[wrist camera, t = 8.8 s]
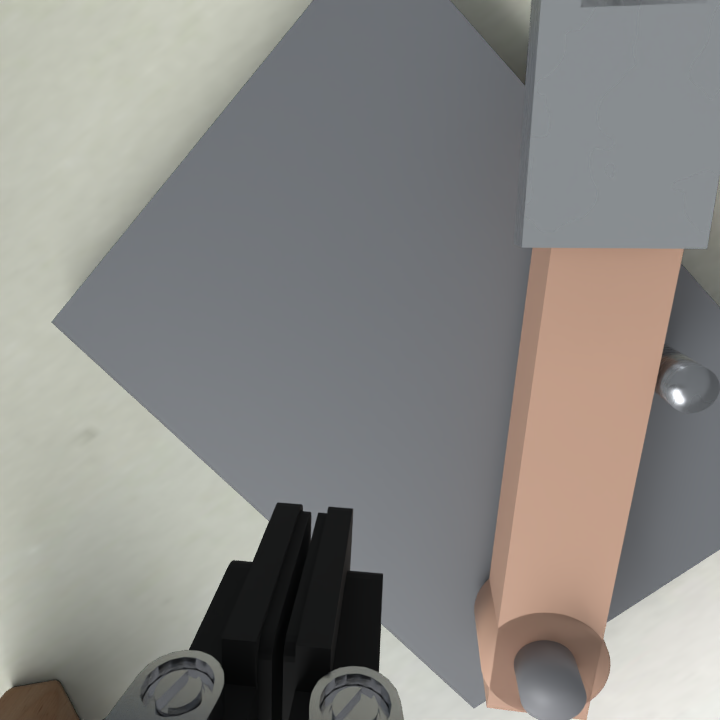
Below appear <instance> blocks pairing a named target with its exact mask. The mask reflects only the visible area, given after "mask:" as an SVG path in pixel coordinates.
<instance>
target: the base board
mask: <svg viewBox="0 0 720 720" xmlns="http://www.w3.org/2000/svg"><path fill="white" fill-rule="evenodd" d="M524 95H525V85H524V84H523V83H522V82H521V80H520V79H519V78H518V77H517V76H516V75H515V74H514V73H513V71H512V70H511V69H510V68H509V67H508V66H507V65H506V63H505V62H504V61H503V60H502V59H501V58H500V57H499V55H498V54H497V53H496V52H495V51H494V50H493V49H492V47H491V46H490V45H489V44H488V43H487V42H486V41H485V39H484V38H483V37H482V36H481V35H480V34H479V33H478V32H477V30H476V29H475V28H474V27H473V26H472V25H471V24H470V22H469V21H468V20H467V19H466V18H465V17H464V16H463V14H462V13H461V12H460V11H459V10H458V9H457V8H456V6H455V5H454V4H453V3H452V2H451V1H450V0H313V1H312V2H311V4H310V5H309V6H308V7H307V9H306V10H305V11H304V12H303V14H302V15H301V16H300V17H299V18H298V20H297V21H296V22H295V23H294V25H293V26H292V27H291V28H290V30H289V31H288V32H287V33H286V34H285V36H284V37H283V38H282V39H281V41H280V42H279V43H278V44H277V45H276V47H275V48H274V49H273V50H272V52H271V53H270V54H269V55H268V57H267V58H266V59H265V60H264V61H263V63H262V64H261V65H260V66H259V68H258V69H257V70H256V71H255V73H254V74H253V75H252V76H251V77H250V79H249V80H248V81H247V82H246V84H245V85H244V86H243V87H242V88H241V90H240V91H239V92H238V93H237V95H236V96H235V97H234V98H233V100H232V101H231V102H230V103H229V104H228V106H227V107H226V108H225V109H224V111H223V112H222V113H221V114H220V116H219V117H218V118H217V119H216V120H215V122H214V123H213V124H212V125H211V127H210V128H209V129H208V130H207V131H206V133H205V134H204V135H203V136H202V138H201V139H200V140H199V141H198V143H197V144H196V145H195V146H194V147H193V149H192V150H191V151H190V152H189V154H188V155H187V156H186V157H185V159H184V160H183V161H182V162H181V163H180V165H179V166H178V167H177V168H176V170H175V171H174V172H173V173H172V175H171V176H170V177H169V178H168V179H167V181H166V182H165V183H164V184H163V186H162V187H161V188H160V189H159V190H158V192H157V193H156V194H155V195H154V197H153V198H152V199H151V200H150V202H149V203H148V204H147V205H146V206H145V208H144V209H143V210H142V211H141V213H140V214H139V215H138V216H137V218H136V219H135V220H134V221H133V222H132V224H131V225H130V226H129V227H128V229H127V230H126V231H125V232H124V233H123V235H122V236H121V237H120V238H119V240H118V241H117V242H116V243H115V245H114V246H113V247H112V248H111V249H110V251H109V252H108V253H107V254H106V256H105V257H104V258H103V259H102V261H101V262H100V263H99V264H98V265H97V267H96V268H95V269H94V270H93V272H92V273H91V274H90V275H89V276H88V278H87V279H86V280H85V281H84V283H83V284H82V285H81V286H80V288H79V289H78V290H77V291H76V292H75V294H74V295H73V296H72V297H71V299H70V300H69V301H68V302H67V304H66V305H65V306H64V307H63V308H62V310H61V311H60V312H59V313H58V315H57V316H56V317H55V318H54V319H53V321H52V323H53V324H54V325H55V326H56V327H57V328H58V329H59V330H60V331H61V332H63V333H64V334H65V335H66V336H67V337H68V338H69V339H70V340H71V341H72V342H73V343H75V344H76V345H77V346H78V347H79V348H80V349H81V350H82V351H83V352H84V353H86V354H87V355H88V356H89V357H90V358H91V359H92V360H93V361H94V362H95V363H96V364H98V365H99V366H100V367H101V368H102V369H103V370H104V371H105V372H106V373H107V374H108V375H110V376H111V377H112V378H113V379H114V380H115V381H116V382H117V383H118V384H119V385H121V386H122V387H123V388H124V389H125V390H126V391H127V392H128V393H129V394H130V395H131V396H133V397H134V398H135V399H136V400H137V401H138V402H139V403H140V404H141V405H142V406H144V407H145V408H146V409H147V410H148V411H149V412H150V413H151V414H152V415H153V416H154V417H156V418H157V419H158V420H159V421H160V422H161V423H162V424H163V425H164V426H165V427H166V428H168V429H169V430H170V431H171V432H172V433H173V434H174V435H175V436H176V437H177V438H179V439H180V440H181V441H182V442H183V443H184V444H185V445H186V446H187V447H188V448H189V449H191V450H192V451H193V452H194V453H195V454H196V455H197V456H198V457H199V458H200V459H201V460H203V461H204V462H205V463H206V464H207V465H208V466H209V467H210V468H211V469H212V470H214V471H215V472H216V473H217V474H218V475H219V476H220V477H221V478H222V479H223V480H224V481H226V482H227V483H228V484H229V485H230V486H231V487H232V488H233V489H234V490H235V491H237V492H238V493H239V494H240V495H241V496H242V497H243V498H244V499H245V500H246V501H247V502H249V503H250V504H251V505H252V506H253V507H254V508H255V509H256V510H257V511H258V512H259V513H261V514H262V515H263V516H264V517H265V518H266V519H267V520H268V521H270V518H271V516H272V513H273V511H274V508H275V506H276V504H277V503H278V502H280V503H292V504H302V505H303V511H307V512H311V538H312V534H313V530H314V526H315V523H316V519H317V515H318V513H327V510H328V507H341V508H353V527H352V546H351V565H350V571H360V572H372V573H383V591H382V613H381V624H382V625H383V626H384V627H385V628H386V629H387V630H389V631H390V632H391V633H392V634H393V635H394V636H395V637H396V638H397V639H398V640H400V641H401V642H402V643H403V644H404V645H405V646H406V647H407V648H408V649H409V650H410V651H412V652H413V653H414V654H415V655H416V656H417V657H418V658H419V659H420V660H421V661H423V662H424V663H425V664H426V665H427V666H428V667H429V668H430V669H431V670H432V671H433V672H435V673H436V674H437V675H438V676H439V677H440V678H441V679H442V680H443V681H444V682H445V683H447V684H448V685H449V686H450V687H451V688H452V689H453V690H454V691H455V692H456V693H458V694H459V695H460V696H461V697H462V698H463V699H464V700H465V701H466V702H467V703H468V704H470V705H471V706H472V707H473V708H475V707H477V706H478V705H480V704H482V703H483V702H485V701H486V697H485V689H484V681H483V674H482V671H481V663H480V655H479V647H478V639H477V631H476V623H475V615H474V605H475V600H476V597H477V594H478V592H479V590H480V589H481V587H482V586H483V585H484V583H485V582H486V581H487V580H488V579H489V576H490V568H491V561H492V553H493V545H494V538H495V530H496V523H497V515H498V507H499V500H500V492H501V484H502V477H503V469H504V461H505V454H506V446H507V438H508V431H509V423H510V416H511V408H512V400H513V393H514V385H515V377H516V370H517V362H518V354H519V347H520V339H521V331H522V324H523V316H524V309H525V301H526V293H527V286H528V278H529V270H530V263H531V255H532V248H522V247H520V246H518V245H515V244H514V231H515V217H516V203H517V190H518V176H519V163H520V149H521V136H522V122H523V109H524ZM664 343H665V344H667V345H669V346H670V347H672V348H674V349H675V350H677V351H679V352H680V353H682V354H684V355H685V356H687V357H689V358H691V359H692V360H694V361H696V362H697V363H699V364H701V365H702V366H704V367H706V368H707V369H709V370H711V371H712V372H713V373H714V374H715V375H716V376H717V378H718V380H719V384H720V307H719V306H718V305H717V304H716V303H715V301H714V300H713V299H712V298H711V297H710V296H709V295H708V293H707V292H706V291H705V290H704V289H703V288H702V287H701V286H700V284H699V283H698V282H697V281H696V280H695V279H694V278H693V276H692V275H691V274H690V273H689V272H688V271H687V270H686V268H685V267H684V266H683V265H682V264H681V265H680V270H679V275H678V280H677V285H676V289H675V294H674V299H673V304H672V309H671V314H670V318H669V323H668V328H667V333H666V338H665V342H664ZM718 550H720V390H719V394H718V397H717V399H716V400H715V402H714V403H713V404H712V405H711V406H710V407H708V408H707V409H705V410H703V411H700V412H697V413H684V412H680V411H678V410H676V409H675V408H674V407H672V406H671V405H670V404H669V403H668V402H666V401H665V400H664V399H663V398H662V397H660V396H659V395H658V394H657V393H656V392H654V396H653V400H652V405H651V410H650V415H649V420H648V425H647V429H646V434H645V439H644V444H643V449H642V454H641V458H640V463H639V468H638V473H637V478H636V482H635V487H634V492H633V497H632V502H631V507H630V511H629V516H628V521H627V526H626V531H625V536H624V540H623V545H622V550H621V555H620V560H619V565H618V569H617V574H616V579H615V584H614V589H613V594H612V598H611V603H610V608H609V613H608V618H607V622H608V621H610V620H611V619H613V618H615V617H616V616H618V615H619V614H621V613H622V612H624V611H625V610H627V609H628V608H630V607H632V606H633V605H635V604H636V603H638V602H639V601H641V600H642V599H644V598H645V597H647V596H649V595H650V594H652V593H653V592H655V591H656V590H658V589H659V588H661V587H662V586H664V585H666V584H667V583H669V582H670V581H672V580H673V579H675V578H676V577H678V576H679V575H681V574H683V573H684V572H686V571H687V570H689V569H690V568H692V567H693V566H695V565H696V564H698V563H700V562H701V561H703V560H704V559H706V558H707V557H709V556H710V555H712V554H713V553H715V552H717V551H718ZM607 622H606V623H607Z"/></svg>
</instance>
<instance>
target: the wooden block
mask: <svg viewBox="0 0 720 720" xmlns="http://www.w3.org/2000/svg"><path fill="white" fill-rule="evenodd" d="M0 720H80V719H79V717H78V716H77V714H76V712H75V710H74V708H73V706H72V704H71V702H70V700H69V699H68V697H67V695H66V693H65V691H64V689H63V687H62V685H61V683H60V682H58V681H56V680H53V681H47V682H41V683H35V684H29V685H24V686H18V687H12V688H11V689H9V690H8V691H6V692H5V693H4V695H3V696H2V697H1V698H0Z"/></svg>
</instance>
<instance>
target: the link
mask: <svg viewBox="0 0 720 720" xmlns="http://www.w3.org/2000/svg"><path fill="white" fill-rule="evenodd" d="M683 251H684V249H649V248H532V255H531V263H530V270H529V278H528V286H527V293H526V301H525V309H524V316H523V324H522V331H521V339H520V347H519V354H518V362H517V370H516V377H515V385H514V393H513V400H512V408H511V416H510V423H509V431H508V438H507V446H506V454H505V461H504V469H503V477H502V484H501V492H500V500H499V507H498V515H497V523H496V530H495V538H494V545H493V553H492V561H491V568H490V576H489V579H488V580H487V581H486V582H485V583H484V585H483V586H482V587H481V589H480V590H479V592H478V594H477V597H476V600H475V605H474V615H475V623H476V631H477V639H478V647H479V655H480V663H481V671H482V674H483V681H484V689H485V697H486V705H487V708H495V709H503V710H511V711H518V712H526V713H529V714H530V715H531V716H532V717H534V718H536V719H538V720H570V719H572V718H573V719H581V720H586V719H587V714H588V709H589V705H590V701H591V700H592V699H593V698H594V697H596V696H597V694H598V693H599V692H600V691H601V690H602V688H603V687H604V685H605V683H606V681H607V679H608V676H609V673H610V656H609V652H608V650H607V647H606V644H605V642H604V640H603V637H604V632H605V627H606V622H607V618H608V613H609V608H610V603H611V598H612V594H613V589H614V584H615V579H616V574H617V569H618V565H619V560H620V555H621V550H622V545H623V540H624V536H625V531H626V526H627V521H628V516H629V511H630V507H631V502H632V497H633V492H634V487H635V482H636V478H637V473H638V468H639V463H640V458H641V454H642V449H643V444H644V439H645V434H646V429H647V425H648V420H649V415H650V410H651V405H652V400H653V396H654V391H655V386H656V381H657V376H658V371H659V367H660V362H661V357H662V352H663V347H664V342H665V338H666V333H667V328H668V323H669V318H670V314H671V309H672V304H673V299H674V294H675V289H676V285H677V280H678V275H679V270H680V265H681V260H682V256H683Z"/></svg>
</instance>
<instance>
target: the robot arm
mask: <svg viewBox="0 0 720 720" xmlns="http://www.w3.org/2000/svg"><path fill="white" fill-rule="evenodd" d="M352 527H353V508H341V507H328V510H327V513H318V515H317V519H316V523H315V526H314V530H313V534H312V538H311V512H307V511H303V505H302V504H292V503H280V502H278V503H277V504H276V506H275V508H274V511H273V513H272V516H271V518H270V521H269V523H268V526H267V528H266V530H265V533H264V535H263V538H262V540H261V543H260V545H259V548H258V550H257V553H256V555H255V557H254V560H253V562H247V561H235V560H233V561H232V562H231V563H230V564H229V566H228V568H227V570H226V572H225V574H224V576H223V579H222V581H221V583H220V585H219V587H218V589H217V591H216V593H215V596H214V598H213V600H212V602H211V604H210V606H209V608H208V610H207V613H206V615H205V617H204V619H203V621H202V623H201V625H200V627H199V630H198V632H197V634H196V636H195V638H194V640H193V642H192V644H191V647H190V649H189V650H184V651H177V652H172V653H169V654H167V655H164V656H162V657H159V658H158V659H156V660H155V661H153V662H152V663H150V664H148V665H147V666H146V667H145V668H144V669H143V670H142V671H141V672H140V673H139V674H138V676H137V677H136V678H135V680H134V681H133V682H132V684H131V685H130V686H129V688H128V689H127V690H126V692H125V693H124V694H123V696H122V697H121V698H120V700H119V701H118V702H117V704H116V705H115V706H114V708H113V709H112V710H111V712H110V713H109V714H108V716H107V717H106V718H105V719H103V720H404V717H403V711H402V706H401V701H400V698H399V695H398V692H397V690H396V688H395V687H394V686H393V684H392V683H391V682H390V681H389V679H387V678H386V677H384V676H383V675H382V674H380V673H379V657H380V635H381V613H382V591H383V573H372V572H360V571H350V565H351V546H352Z"/></svg>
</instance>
